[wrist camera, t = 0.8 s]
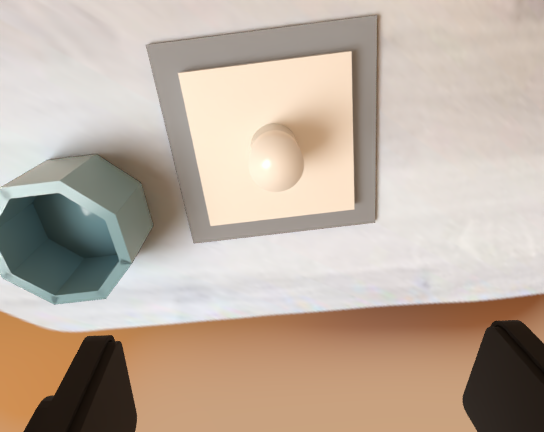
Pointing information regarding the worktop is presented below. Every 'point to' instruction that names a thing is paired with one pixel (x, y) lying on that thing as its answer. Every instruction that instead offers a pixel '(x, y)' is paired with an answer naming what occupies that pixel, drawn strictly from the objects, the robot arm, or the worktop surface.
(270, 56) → the mat
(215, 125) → the lid
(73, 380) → the robot arm
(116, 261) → the bowl
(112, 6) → the worktop surface
